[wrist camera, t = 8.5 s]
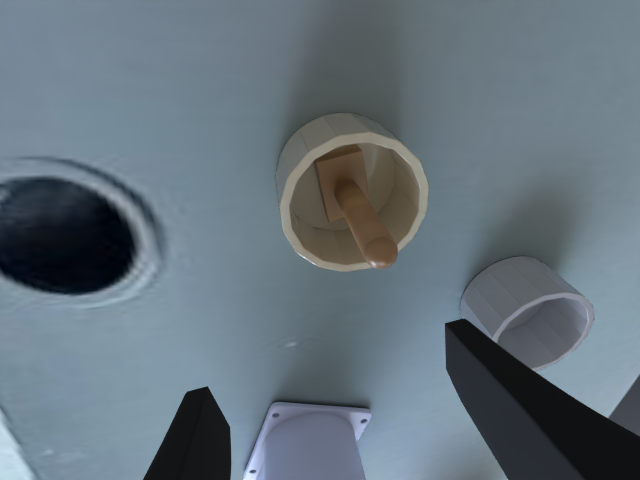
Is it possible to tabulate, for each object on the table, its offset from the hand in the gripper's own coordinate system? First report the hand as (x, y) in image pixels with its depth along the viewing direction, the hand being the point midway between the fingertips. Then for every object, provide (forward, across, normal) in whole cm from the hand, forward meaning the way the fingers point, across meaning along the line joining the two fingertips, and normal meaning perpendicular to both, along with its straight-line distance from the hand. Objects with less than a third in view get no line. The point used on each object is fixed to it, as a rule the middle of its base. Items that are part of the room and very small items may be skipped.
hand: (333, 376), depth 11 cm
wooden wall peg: (+10, -3, -2) cm, 10 cm away
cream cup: (+10, -3, -2) cm, 11 cm away
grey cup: (+10, -12, +9) cm, 19 cm away
